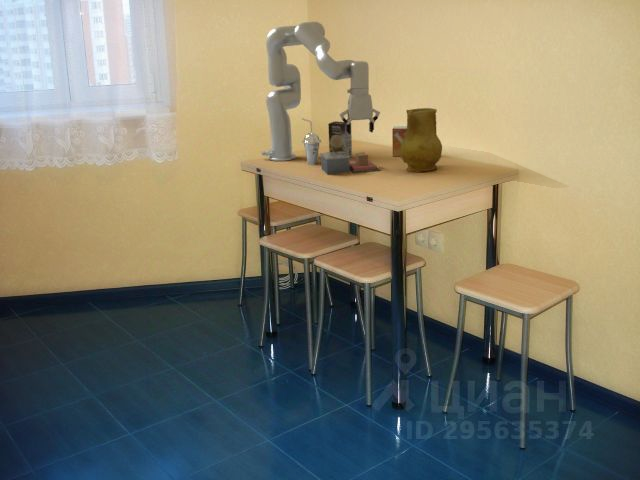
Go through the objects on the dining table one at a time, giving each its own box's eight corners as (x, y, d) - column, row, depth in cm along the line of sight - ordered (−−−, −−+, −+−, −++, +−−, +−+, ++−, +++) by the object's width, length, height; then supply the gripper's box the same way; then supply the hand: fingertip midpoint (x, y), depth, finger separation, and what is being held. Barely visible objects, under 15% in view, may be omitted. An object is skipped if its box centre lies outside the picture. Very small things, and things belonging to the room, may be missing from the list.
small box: (392, 156, 335) (391, 128, 331) (393, 154, 340) (393, 126, 336) (410, 156, 333) (410, 128, 329) (411, 154, 339) (411, 125, 335)
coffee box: (328, 158, 339) (327, 123, 334) (335, 155, 344) (334, 121, 339) (345, 159, 334) (344, 124, 329) (352, 156, 339) (351, 122, 334)
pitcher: (393, 168, 312) (392, 109, 304) (430, 162, 318) (430, 105, 311) (413, 175, 297) (413, 113, 289) (452, 169, 303) (453, 109, 296)
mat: (353, 173, 306) (353, 172, 306) (344, 165, 321) (344, 164, 321) (380, 170, 308) (380, 169, 308) (370, 163, 323) (370, 162, 323)
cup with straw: (307, 166, 324) (304, 121, 317) (300, 162, 332) (297, 118, 325) (325, 164, 326) (323, 119, 320) (317, 160, 335) (315, 116, 328)
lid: (353, 171, 308) (353, 157, 306) (347, 165, 319) (346, 152, 317) (376, 168, 310) (376, 155, 308) (369, 163, 321) (369, 150, 319)
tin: (327, 174, 306) (326, 158, 304) (321, 169, 317) (320, 153, 315) (350, 172, 308) (349, 156, 306) (343, 166, 319) (342, 151, 317)
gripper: (341, 94, 300) (342, 135, 305) (382, 91, 303) (382, 132, 308) (337, 91, 307) (338, 132, 312) (377, 89, 310) (377, 129, 315)
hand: (360, 132), depth 310 cm, fingers open, 9 cm apart
